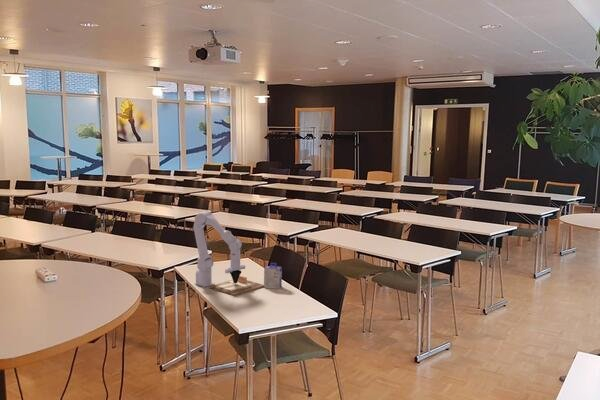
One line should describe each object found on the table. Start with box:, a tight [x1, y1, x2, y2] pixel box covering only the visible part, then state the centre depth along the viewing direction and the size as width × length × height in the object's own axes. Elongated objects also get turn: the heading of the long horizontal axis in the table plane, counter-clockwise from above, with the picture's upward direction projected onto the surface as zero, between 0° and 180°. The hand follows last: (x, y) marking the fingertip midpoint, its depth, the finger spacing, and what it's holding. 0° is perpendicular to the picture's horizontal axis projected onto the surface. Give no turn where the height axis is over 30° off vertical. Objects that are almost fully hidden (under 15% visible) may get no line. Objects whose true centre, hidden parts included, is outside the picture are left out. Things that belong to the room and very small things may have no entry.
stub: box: [228, 275, 251, 288], centre depth 296 cm, size 14×6×5 cm, turn 51°
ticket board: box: [208, 279, 264, 297], centre depth 294 cm, size 22×24×2 cm
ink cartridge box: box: [263, 262, 283, 290], centre depth 296 cm, size 10×6×14 cm, turn 78°
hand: (235, 282), depth 293 cm, fingers closed
